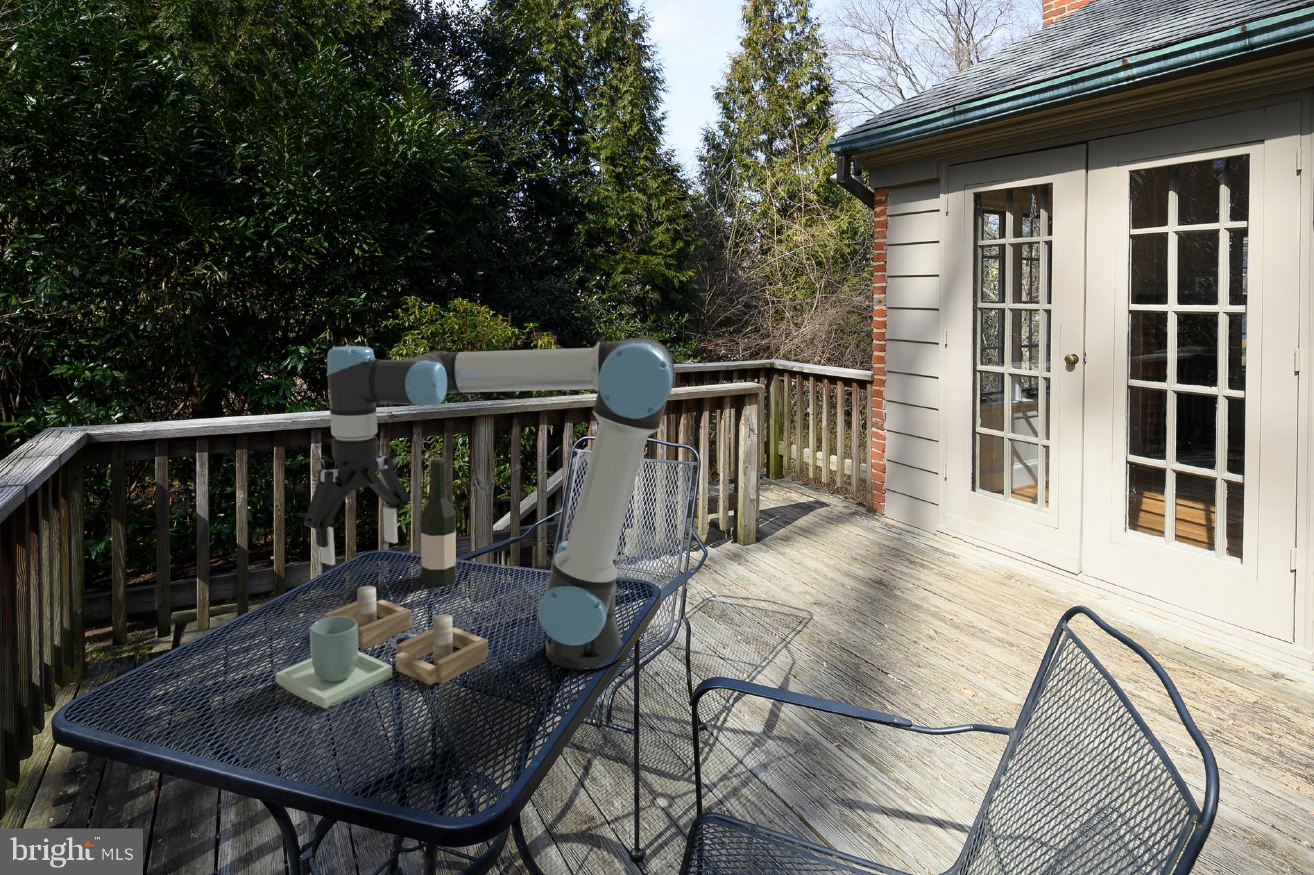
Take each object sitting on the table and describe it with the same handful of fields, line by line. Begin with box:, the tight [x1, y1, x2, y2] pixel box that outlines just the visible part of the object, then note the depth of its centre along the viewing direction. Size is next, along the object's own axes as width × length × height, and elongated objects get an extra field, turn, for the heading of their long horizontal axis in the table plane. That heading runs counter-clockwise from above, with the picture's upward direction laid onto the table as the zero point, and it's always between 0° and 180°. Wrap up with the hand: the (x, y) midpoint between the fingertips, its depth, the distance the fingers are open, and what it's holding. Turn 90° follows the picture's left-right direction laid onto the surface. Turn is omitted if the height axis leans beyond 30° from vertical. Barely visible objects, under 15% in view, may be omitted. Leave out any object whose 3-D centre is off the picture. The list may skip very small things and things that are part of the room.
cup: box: [309, 616, 359, 682], centre depth 143 cm, size 8×8×10 cm
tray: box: [274, 650, 393, 710], centre depth 144 cm, size 14×14×2 cm
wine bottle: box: [420, 457, 457, 587], centre depth 188 cm, size 8×8×30 cm
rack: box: [323, 585, 489, 686], centre depth 157 cm, size 34×15×9 cm, turn 58°
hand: (361, 552), depth 143 cm, fingers open, 13 cm apart
